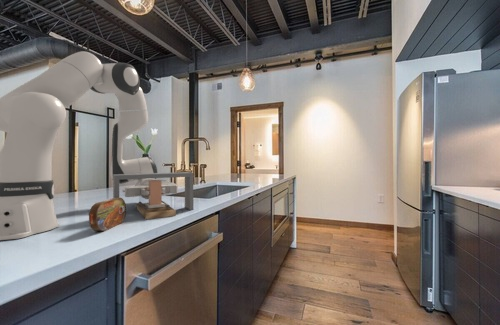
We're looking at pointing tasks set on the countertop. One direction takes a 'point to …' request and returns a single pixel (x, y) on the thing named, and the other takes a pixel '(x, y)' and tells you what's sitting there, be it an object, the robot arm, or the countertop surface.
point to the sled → (155, 194)
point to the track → (156, 211)
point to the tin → (107, 214)
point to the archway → (187, 176)
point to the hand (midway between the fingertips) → (155, 192)
